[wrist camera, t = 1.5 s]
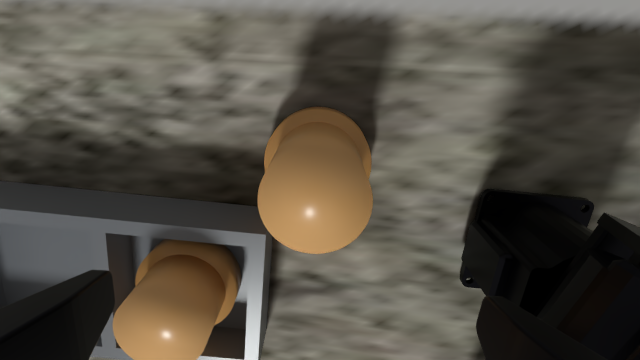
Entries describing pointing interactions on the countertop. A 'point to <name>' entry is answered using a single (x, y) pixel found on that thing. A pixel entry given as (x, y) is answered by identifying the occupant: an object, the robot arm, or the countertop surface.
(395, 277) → the countertop surface
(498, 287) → the robot arm
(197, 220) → the gray divided tray
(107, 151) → the countertop surface
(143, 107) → the countertop surface
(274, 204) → the tan pear-shaped knob
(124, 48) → the countertop surface
